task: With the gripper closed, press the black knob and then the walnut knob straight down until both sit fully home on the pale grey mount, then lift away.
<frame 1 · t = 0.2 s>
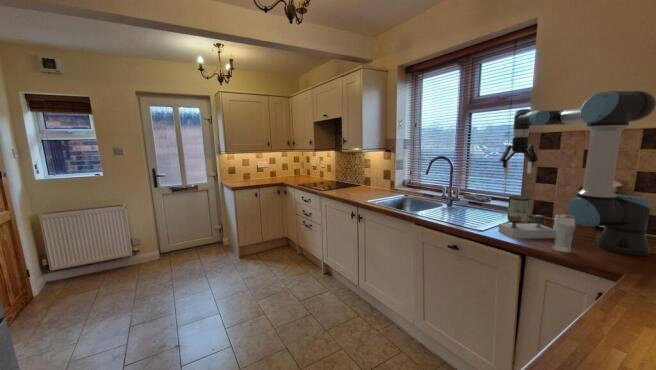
hand: (517, 173, 157), 28 cm above the countertop, tool pointing down, fingers open, 13 cm apart
knob black: (538, 221, 131), point 7 cm above the countertop, slide at 0.0 cm
knob walnut: (514, 221, 131), point 7 cm above the countertop, slide at 0.0 cm
knob mount: (525, 234, 132), on the countertop
coffee can: (517, 220, 157), on the countertop
beer glass: (561, 250, 112), on the countertop
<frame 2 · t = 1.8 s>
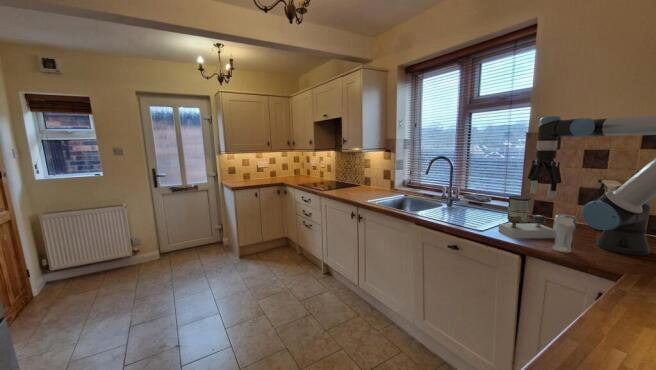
hand: (541, 195, 129), 20 cm above the countertop, tool pointing down, fingers open, 10 cm apart
nothing on the countertop moved.
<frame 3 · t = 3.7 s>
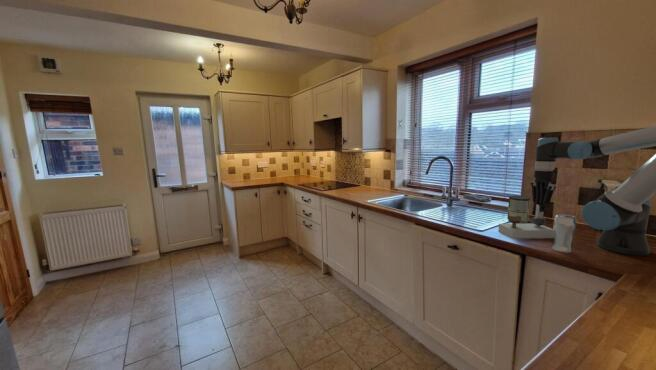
hand: (539, 217, 131), 9 cm above the countertop, tool pointing down, fingers closed
knob black: (538, 223, 131), point 5 cm above the countertop, slide at 1.1 cm, touching gripper
everything else where it was.
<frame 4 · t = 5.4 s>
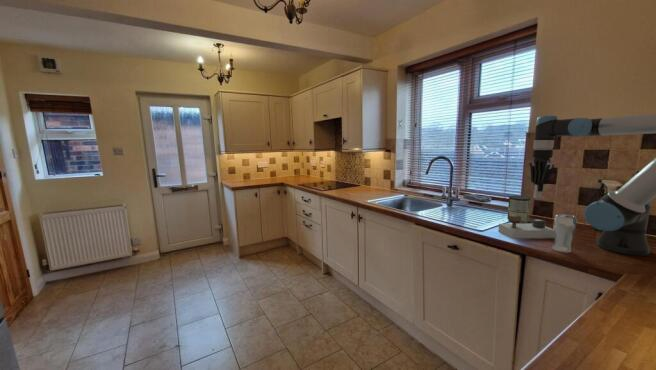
hand: (537, 197, 130), 19 cm above the countertop, tool pointing down, fingers closed
knob black: (538, 226, 131), point 4 cm above the countertop, slide at 2.3 cm
everything else where it was.
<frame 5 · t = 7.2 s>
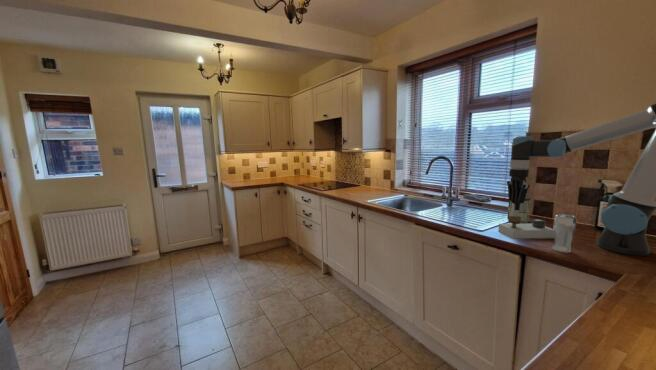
hand: (514, 215, 131), 10 cm above the countertop, tool pointing down, fingers closed
knob walnut: (514, 222, 131), point 6 cm above the countertop, slide at 0.3 cm, touching gripper
everything else where it was.
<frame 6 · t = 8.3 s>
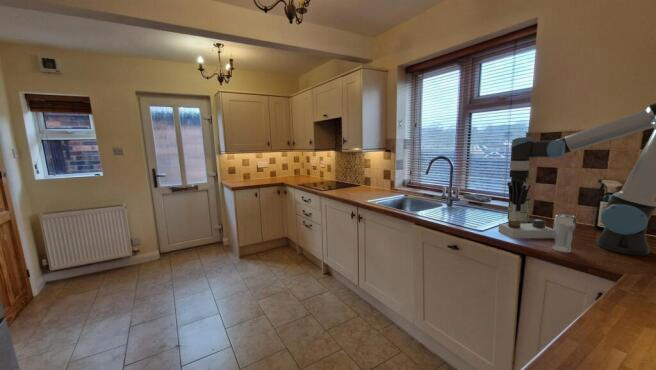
hand: (515, 217, 131), 9 cm above the countertop, tool pointing down, fingers closed
knob walnut: (513, 226, 132), point 4 cm above the countertop, slide at 2.3 cm
everything else where it was.
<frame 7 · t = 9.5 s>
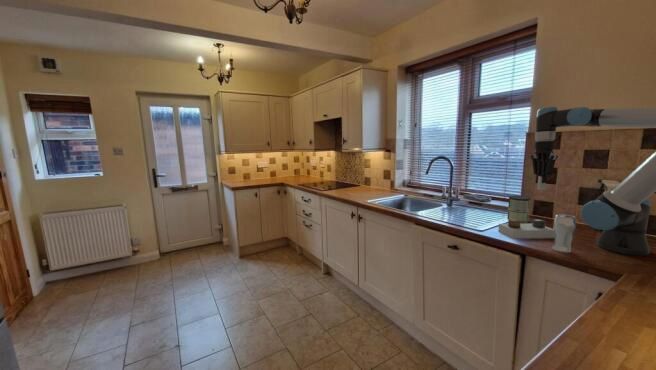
hand: (541, 189, 130), 23 cm above the countertop, tool pointing down, fingers closed
nothing on the countertop moved.
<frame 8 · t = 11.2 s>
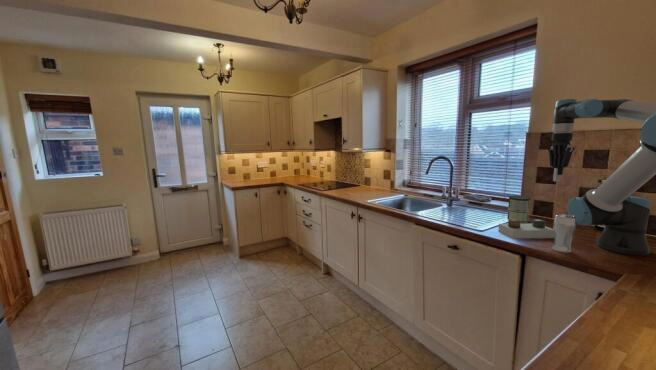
hand: (556, 181, 131), 26 cm above the countertop, tool pointing down, fingers closed
nothing on the countertop moved.
at the end: knob black slide at 2.3 cm; knob walnut slide at 2.3 cm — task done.
